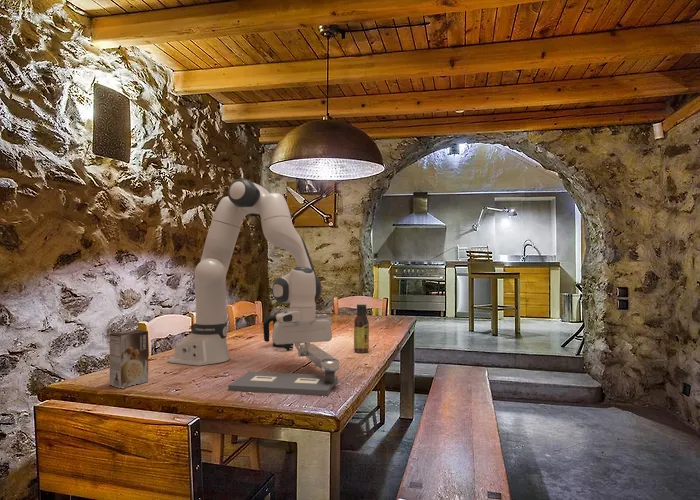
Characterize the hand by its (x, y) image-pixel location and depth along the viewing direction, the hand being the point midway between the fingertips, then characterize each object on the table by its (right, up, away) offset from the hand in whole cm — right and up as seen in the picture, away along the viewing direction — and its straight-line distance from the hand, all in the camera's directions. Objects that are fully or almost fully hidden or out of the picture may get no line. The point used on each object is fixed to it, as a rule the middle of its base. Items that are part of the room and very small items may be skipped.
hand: (302, 355), depth 149 cm
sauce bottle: (+21, -7, +36) cm, 42 cm away
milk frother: (-13, -7, +44) cm, 46 cm away
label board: (-4, -6, -13) cm, 15 cm away
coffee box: (-52, -6, -13) cm, 54 cm away
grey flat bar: (+6, -1, -4) cm, 7 cm away
